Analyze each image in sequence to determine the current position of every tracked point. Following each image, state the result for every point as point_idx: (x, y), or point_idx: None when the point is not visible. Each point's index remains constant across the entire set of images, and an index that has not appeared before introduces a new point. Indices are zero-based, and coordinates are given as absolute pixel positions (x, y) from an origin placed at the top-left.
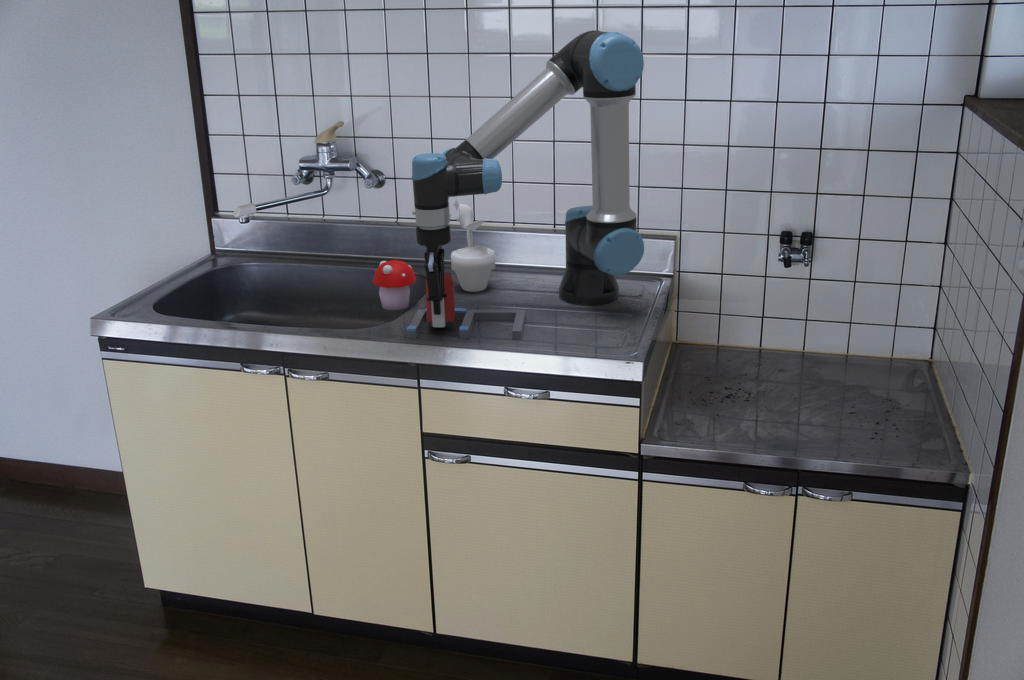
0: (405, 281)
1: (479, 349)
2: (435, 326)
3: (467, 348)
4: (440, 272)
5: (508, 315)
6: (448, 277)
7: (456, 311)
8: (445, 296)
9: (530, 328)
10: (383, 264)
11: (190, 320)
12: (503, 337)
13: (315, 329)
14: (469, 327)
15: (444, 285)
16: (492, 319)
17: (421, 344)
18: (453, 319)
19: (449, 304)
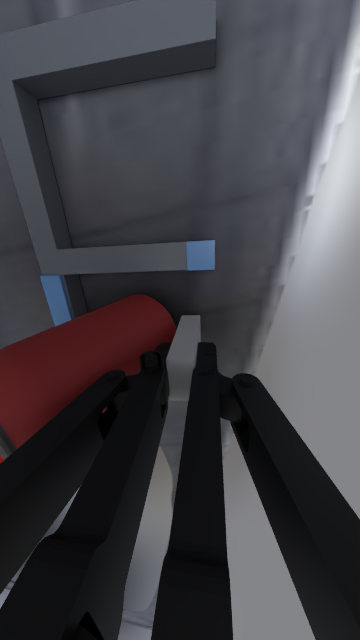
0: (2, 459)
1: (305, 184)
2: (200, 339)
3: (291, 227)
4: (173, 531)
5: (31, 124)
6: (12, 388)
7: (67, 302)
8: (162, 356)
9: (95, 6)
10: None
11: (157, 593)
12: (195, 114)
13: (173, 505)
14: (178, 242)
15: (93, 386)
16: (57, 192)
17: (250, 351)
18: (148, 298)
19: (127, 326)
